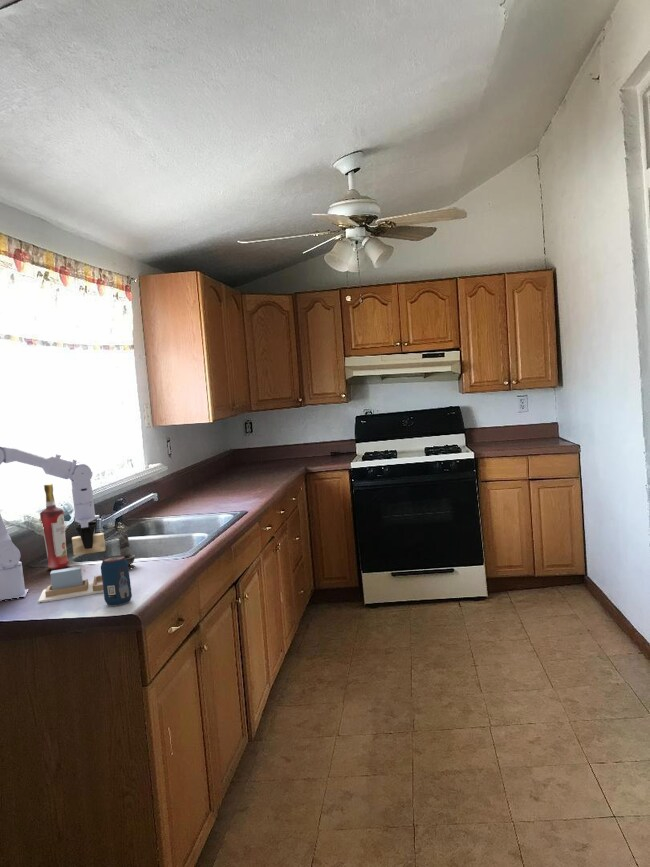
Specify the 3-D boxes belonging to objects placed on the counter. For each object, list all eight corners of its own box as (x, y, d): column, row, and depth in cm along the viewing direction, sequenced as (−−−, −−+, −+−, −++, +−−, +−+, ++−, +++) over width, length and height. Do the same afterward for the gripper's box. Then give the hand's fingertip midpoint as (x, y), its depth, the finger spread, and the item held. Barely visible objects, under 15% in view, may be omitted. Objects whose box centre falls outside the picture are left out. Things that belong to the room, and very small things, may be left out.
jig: (38, 603, 195) (37, 595, 195) (43, 591, 207) (42, 584, 207) (117, 590, 201) (116, 582, 200) (118, 579, 213) (117, 572, 213)
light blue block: (52, 594, 200) (50, 573, 200) (54, 591, 204) (51, 570, 203) (82, 589, 202) (80, 569, 202) (83, 586, 206) (80, 566, 205)
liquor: (56, 565, 241) (46, 483, 239) (75, 564, 239) (64, 482, 237) (42, 571, 234) (31, 487, 232) (61, 570, 232) (50, 485, 230)
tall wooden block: (73, 555, 213) (71, 539, 212) (74, 553, 216) (72, 536, 216) (105, 550, 215) (103, 534, 215) (105, 548, 219) (103, 532, 218)
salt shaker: (129, 564, 231) (124, 528, 230) (140, 566, 227) (135, 529, 226) (113, 569, 226) (109, 532, 225) (124, 571, 222) (120, 533, 222)
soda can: (112, 599, 191) (107, 555, 191) (136, 598, 190) (131, 554, 190) (100, 607, 185) (94, 562, 184) (125, 606, 183) (120, 560, 183)
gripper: (96, 504, 209) (101, 549, 210) (98, 498, 223) (103, 540, 224) (71, 507, 207) (76, 553, 208) (74, 501, 221) (80, 544, 222)
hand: (89, 547), depth 216 cm, fingers closed on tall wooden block, 3 cm apart
